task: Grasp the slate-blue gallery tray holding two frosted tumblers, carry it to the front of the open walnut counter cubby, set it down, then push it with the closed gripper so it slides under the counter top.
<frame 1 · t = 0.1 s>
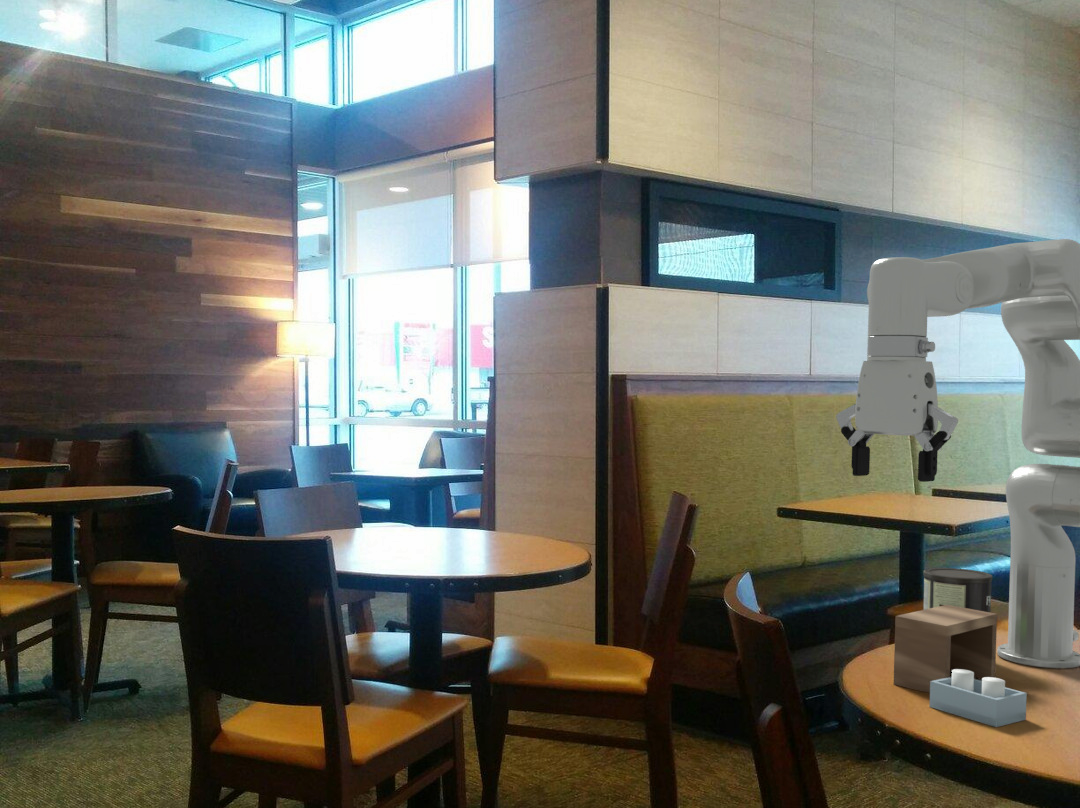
hand: (892, 478, 144), 31 cm above the table, fingers open, 9 cm apart
tray: (976, 713, 143), on the table
counter: (944, 682, 158), on the table
coffee can: (955, 661, 172), on the table
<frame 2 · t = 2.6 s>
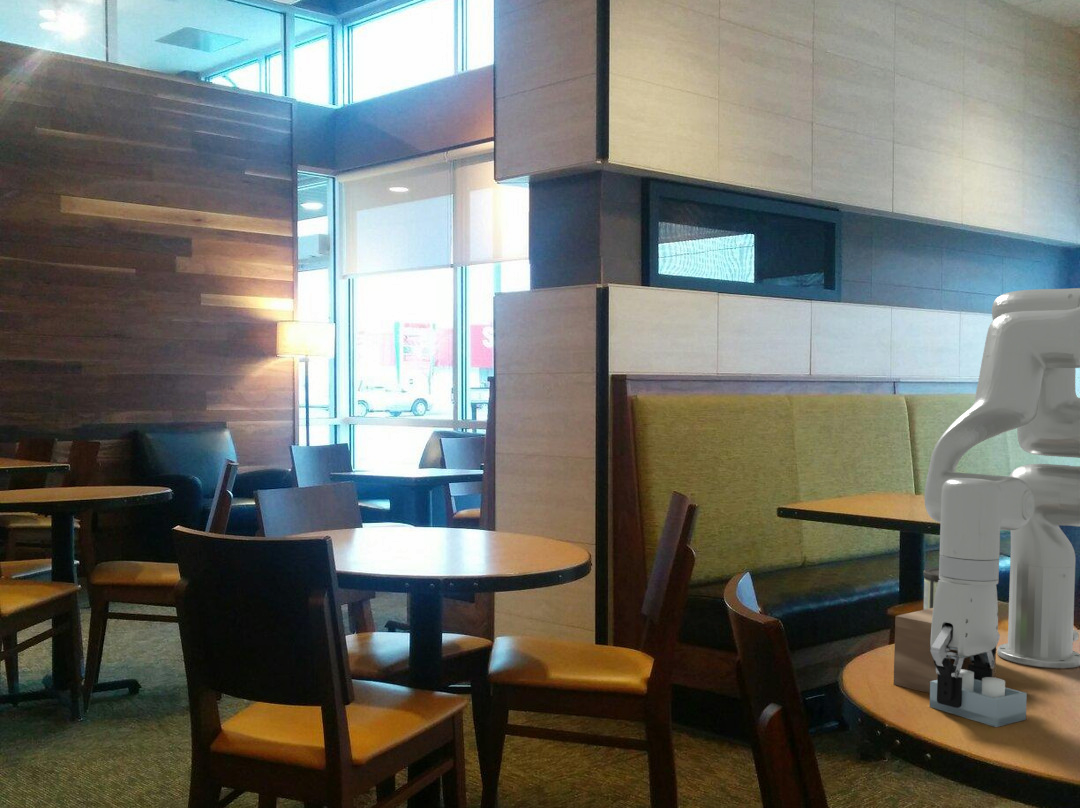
hand: (964, 699, 145), 1 cm above the table, fingers open, 7 cm apart
tray: (976, 713, 143), on the table, touching gripper
everything else where it was.
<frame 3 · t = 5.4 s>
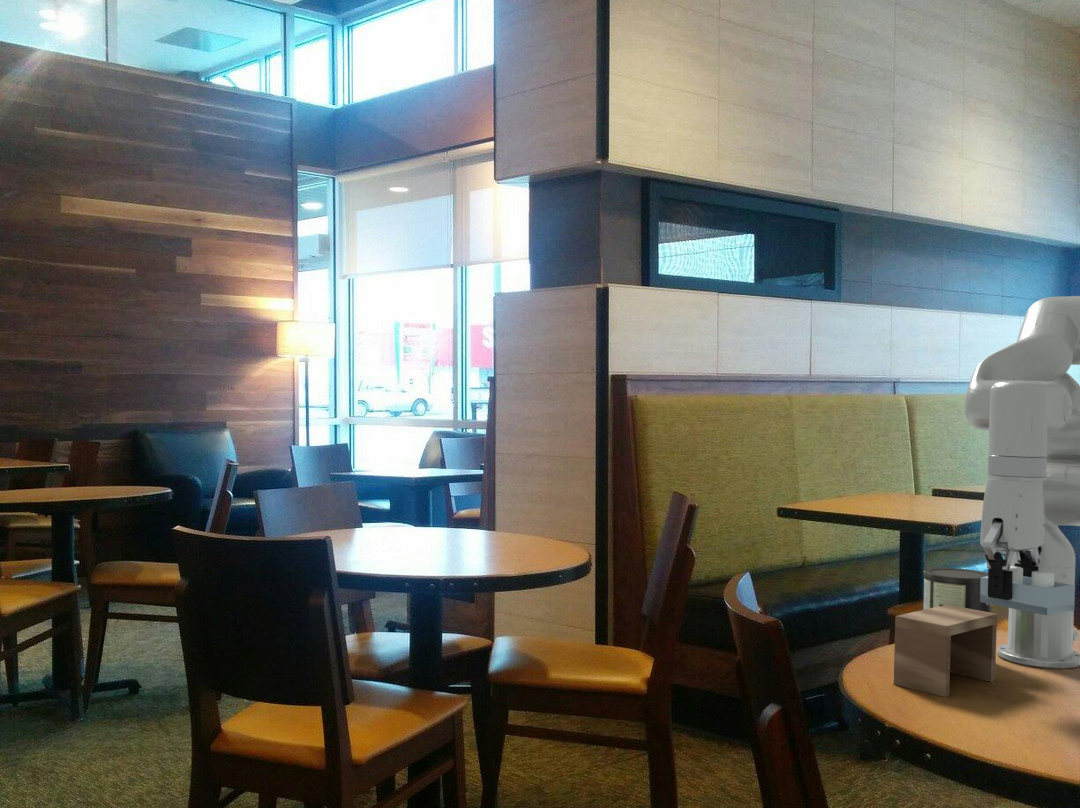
hand: (1012, 594, 150), 15 cm above the table, fingers closed on tray, 7 cm apart
tray: (1026, 606, 149), point 13 cm above the table, touching gripper
everything else where it was.
when the fingers open (2 cm above the table, at t = 7.7 s): tray stays where it is, on the table.
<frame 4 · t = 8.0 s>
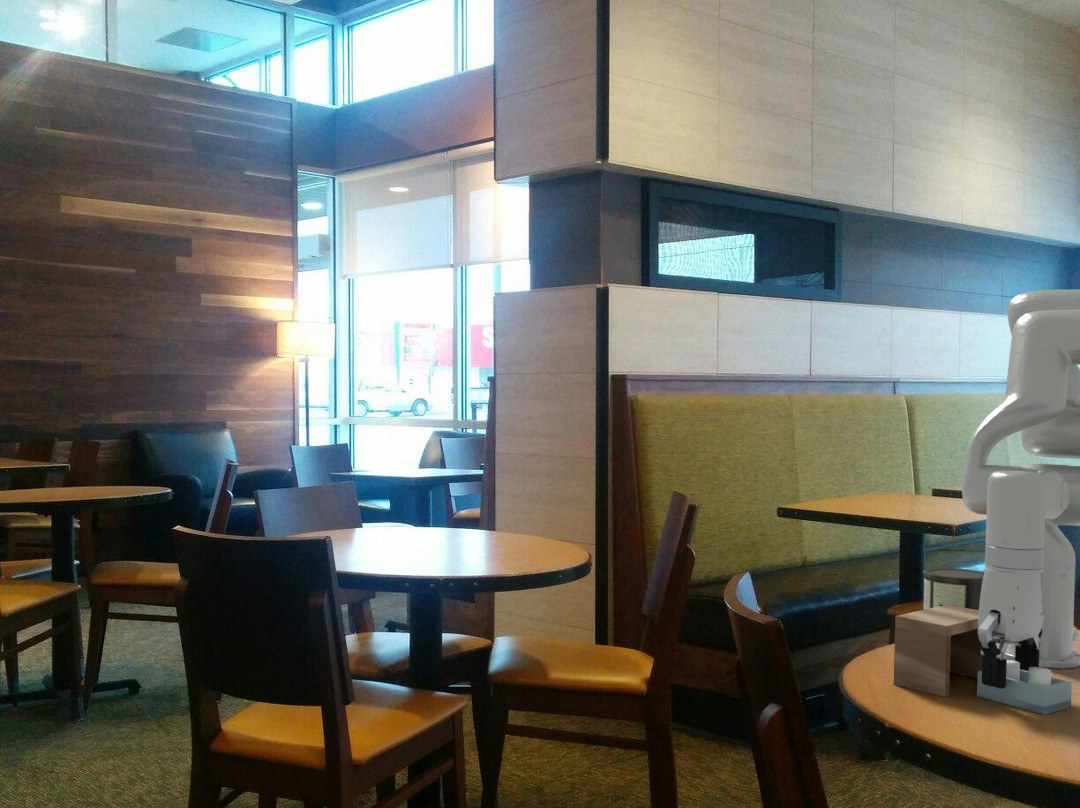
hand: (1010, 680, 151), 2 cm above the table, fingers open, 9 cm apart
tray: (1023, 701, 149), on the table
everything else where it was.
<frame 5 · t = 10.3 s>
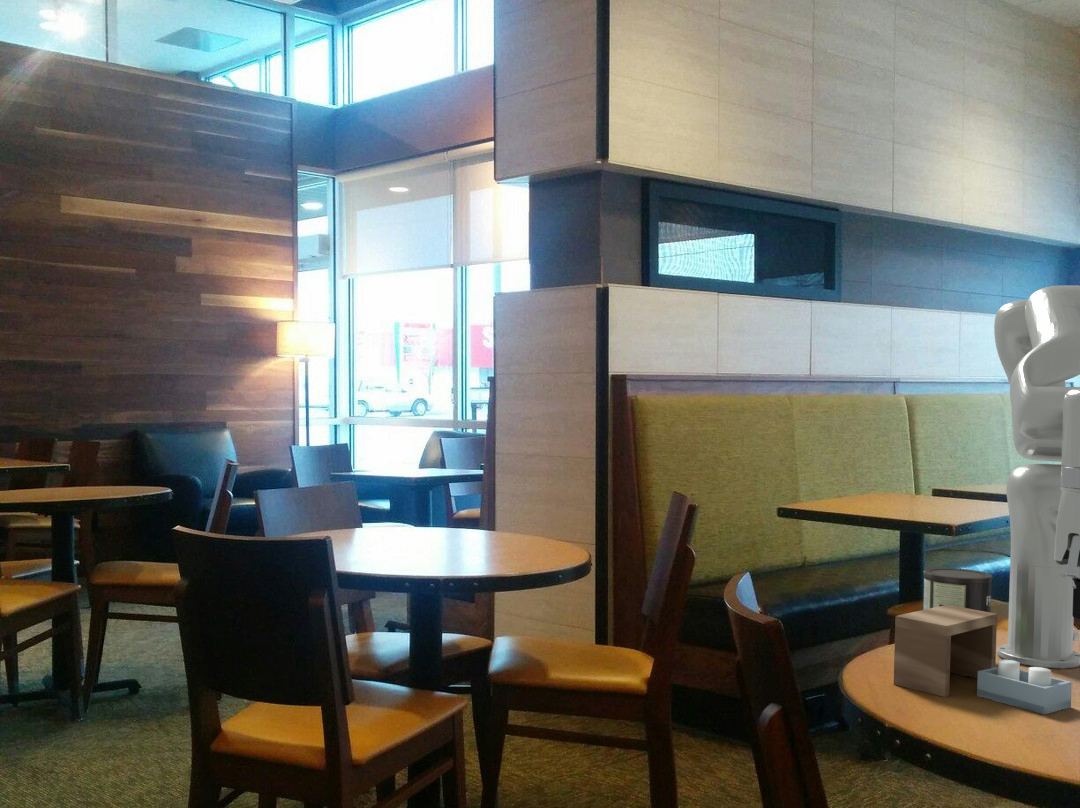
nothing on the table moved.
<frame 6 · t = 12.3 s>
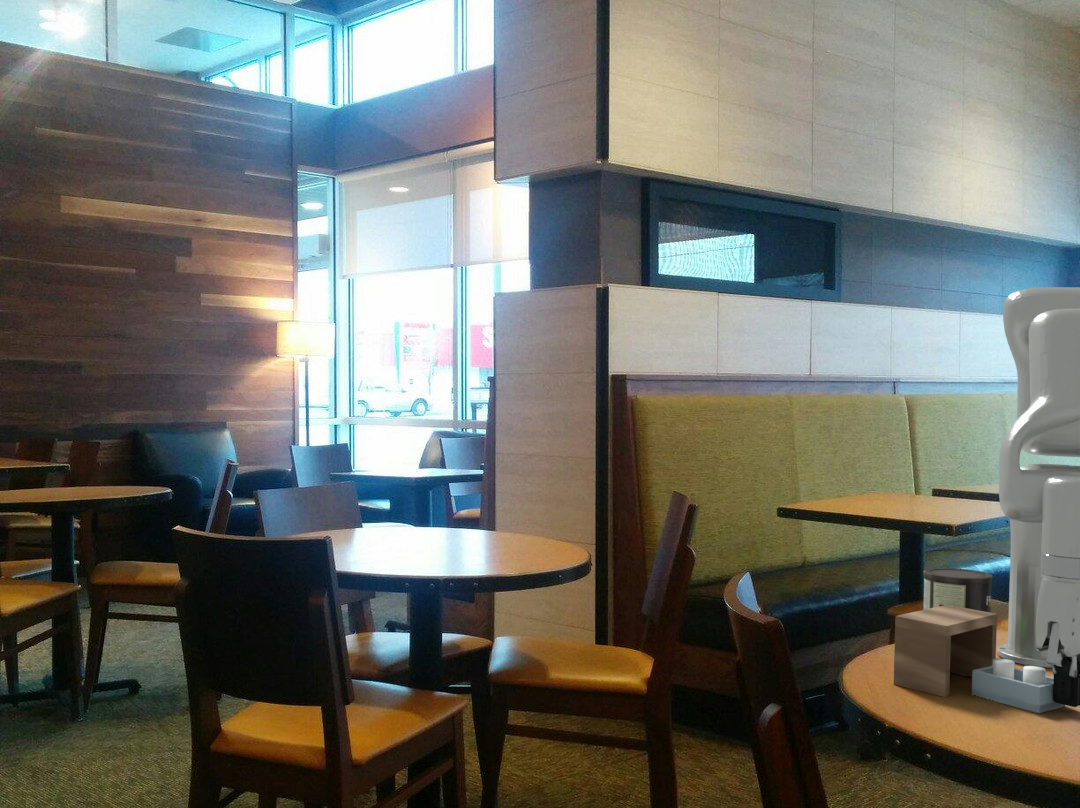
hand: (1067, 703, 144), 1 cm above the table, fingers closed
tray: (1017, 700, 149), on the table, touching gripper
everything else where it was.
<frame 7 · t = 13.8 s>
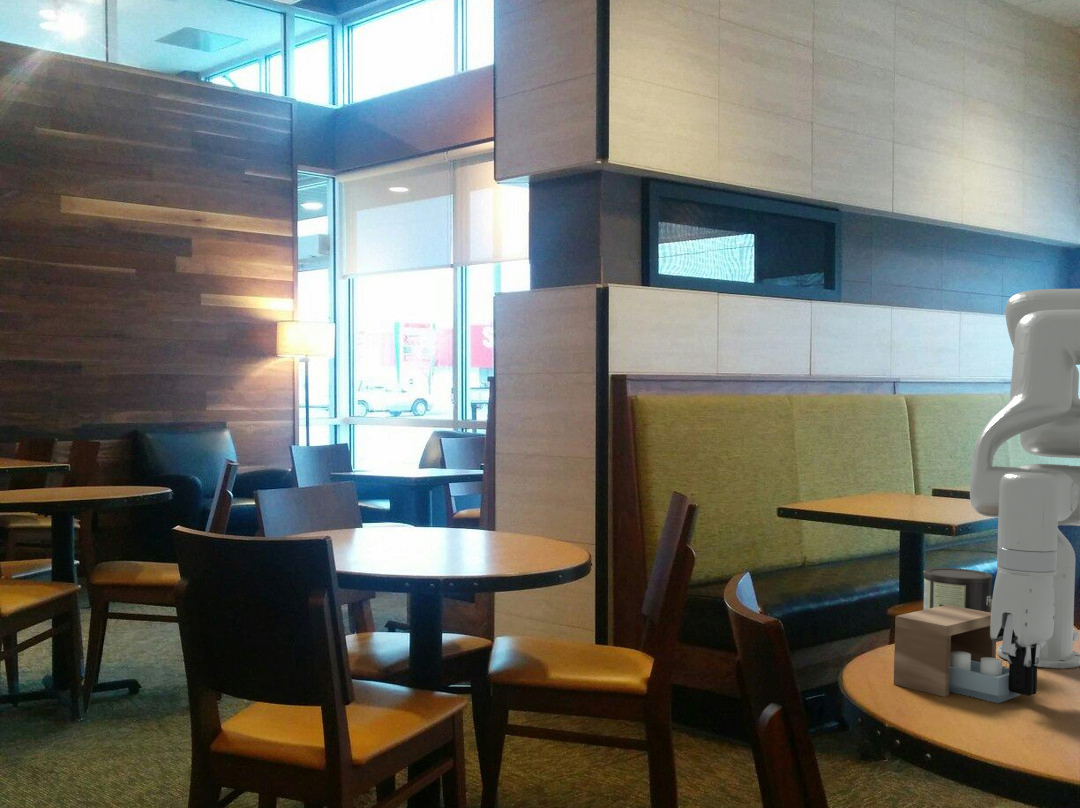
hand: (1022, 692, 149), 1 cm above the table, fingers closed
tray: (974, 691, 154), on the table, touching gripper
everything else where it was.
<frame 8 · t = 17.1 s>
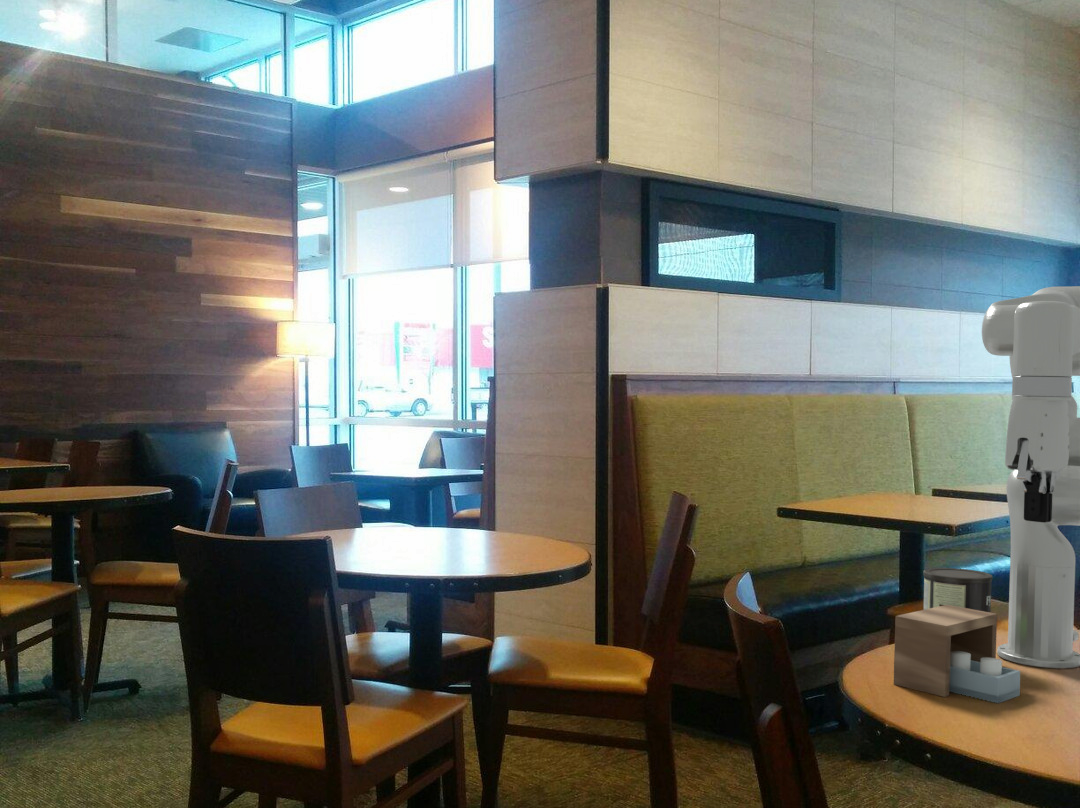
hand: (1037, 520, 150), 25 cm above the table, fingers closed
tray: (974, 691, 154), on the table
everything else where it was.
at the end: tray inside the target area (3.8 cm from its centre), on the table; tray tilted 0°; the gripper is holding nothing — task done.
